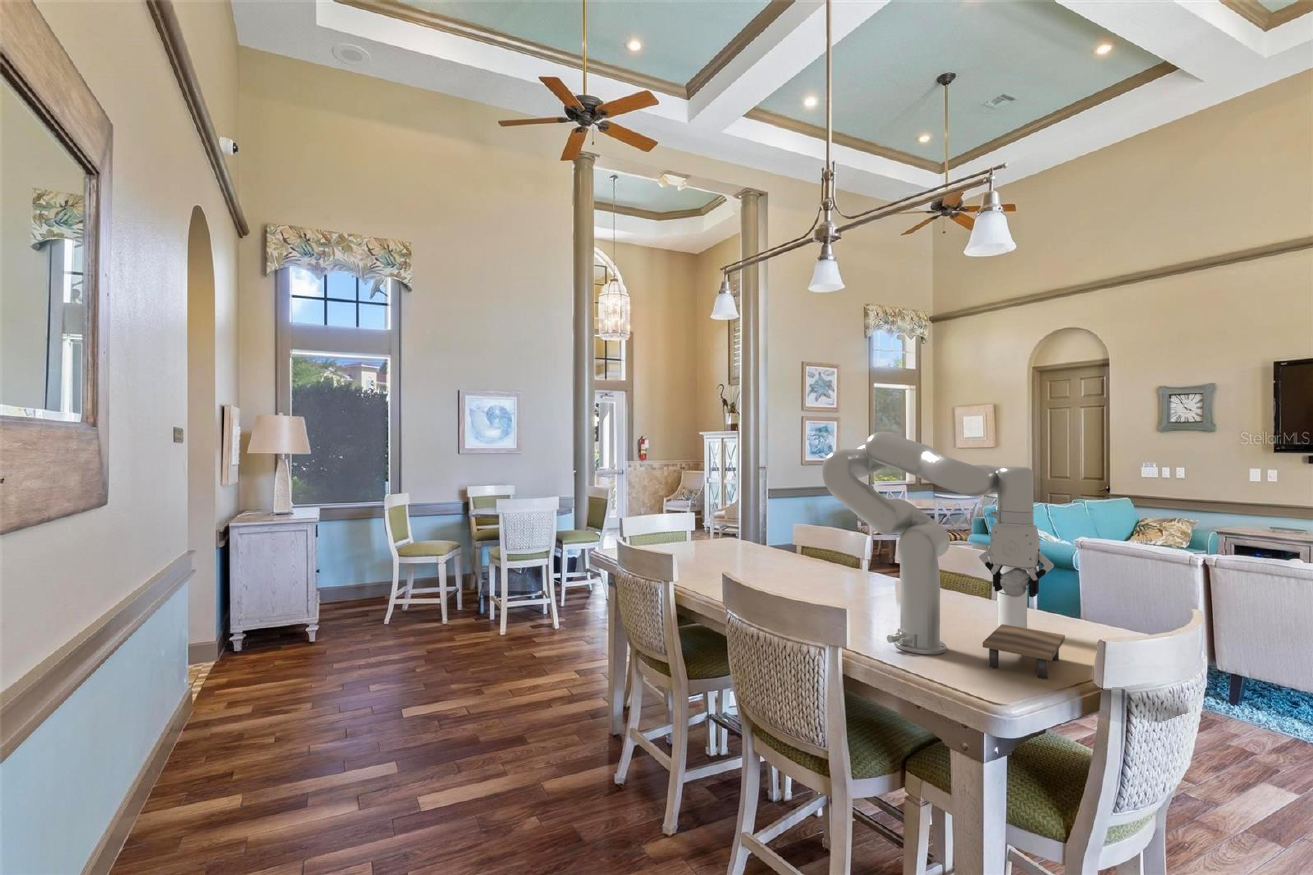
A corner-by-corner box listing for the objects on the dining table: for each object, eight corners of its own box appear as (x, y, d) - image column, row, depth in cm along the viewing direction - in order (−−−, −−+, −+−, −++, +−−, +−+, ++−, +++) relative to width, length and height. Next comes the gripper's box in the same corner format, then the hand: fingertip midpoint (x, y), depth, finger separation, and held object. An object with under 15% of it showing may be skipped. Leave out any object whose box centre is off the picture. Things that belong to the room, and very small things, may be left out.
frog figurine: (1022, 601, 146) (1022, 571, 147) (993, 595, 152) (993, 566, 153) (1037, 598, 150) (1037, 568, 150) (1008, 592, 156) (1008, 564, 156)
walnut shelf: (1051, 682, 142) (1051, 655, 142) (982, 667, 151) (982, 642, 151) (1064, 659, 157) (1064, 635, 157) (1001, 647, 166) (1001, 624, 166)
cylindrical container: (1025, 636, 175) (1025, 545, 175) (996, 631, 180) (996, 543, 180) (1028, 630, 181) (1029, 542, 181) (1000, 625, 185) (1001, 540, 185)
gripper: (970, 516, 155) (971, 589, 155) (1051, 523, 142) (1051, 602, 142) (983, 514, 160) (983, 585, 160) (1061, 520, 147) (1061, 597, 147)
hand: (1015, 592), depth 151 cm, fingers closed on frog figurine, 6 cm apart
